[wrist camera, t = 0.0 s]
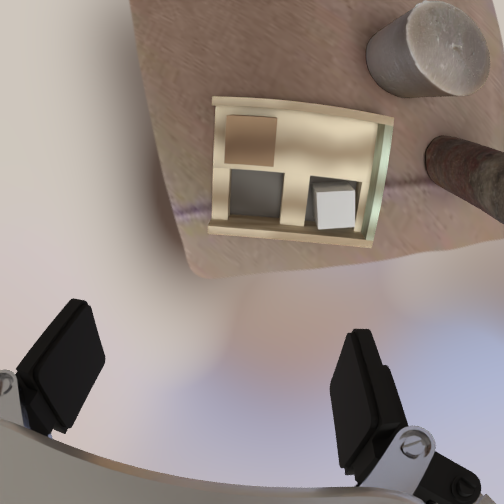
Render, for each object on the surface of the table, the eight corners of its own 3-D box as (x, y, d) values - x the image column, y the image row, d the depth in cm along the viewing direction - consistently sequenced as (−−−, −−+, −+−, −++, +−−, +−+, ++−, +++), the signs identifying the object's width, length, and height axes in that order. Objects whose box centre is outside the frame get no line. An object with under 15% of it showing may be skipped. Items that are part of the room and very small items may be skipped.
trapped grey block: (311, 183, 39) (316, 192, 34) (346, 181, 38) (355, 190, 34) (313, 216, 40) (318, 229, 36) (346, 214, 40) (355, 227, 36)
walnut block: (232, 114, 33) (226, 115, 29) (276, 117, 33) (277, 118, 29) (230, 156, 36) (224, 163, 31) (273, 159, 35) (273, 167, 31)
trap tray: (219, 97, 35) (212, 96, 30) (380, 116, 34) (394, 117, 30) (214, 219, 42) (207, 233, 37) (361, 232, 41) (371, 248, 37)
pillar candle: (443, 70, 30) (512, 63, 17) (400, 112, 34) (463, 118, 20) (394, 15, 28) (448, -20, 14) (348, 56, 31) (389, 28, 18)
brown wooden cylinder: (471, 147, 34) (571, 186, 16) (457, 193, 38) (547, 254, 20) (431, 127, 34) (533, 154, 16) (416, 176, 37) (507, 235, 19)
